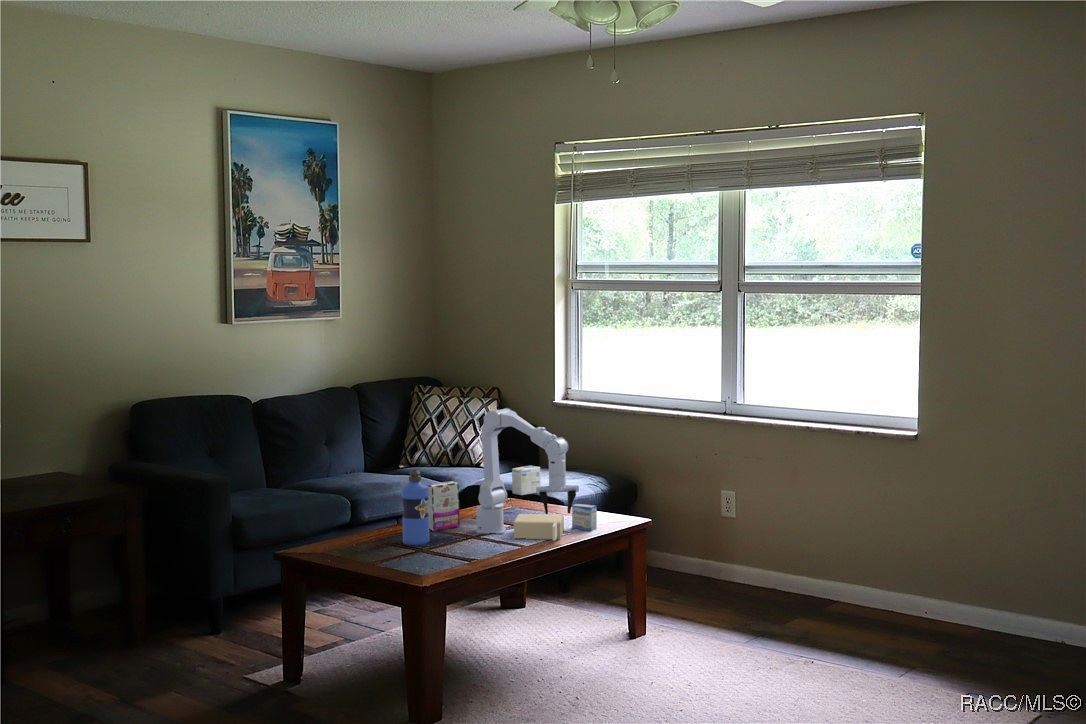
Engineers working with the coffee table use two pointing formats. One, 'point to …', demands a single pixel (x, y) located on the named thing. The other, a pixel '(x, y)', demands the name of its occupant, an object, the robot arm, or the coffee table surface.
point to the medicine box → (584, 517)
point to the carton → (542, 519)
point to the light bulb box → (525, 480)
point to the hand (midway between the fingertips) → (557, 513)
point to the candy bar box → (443, 506)
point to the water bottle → (415, 510)
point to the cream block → (537, 530)
